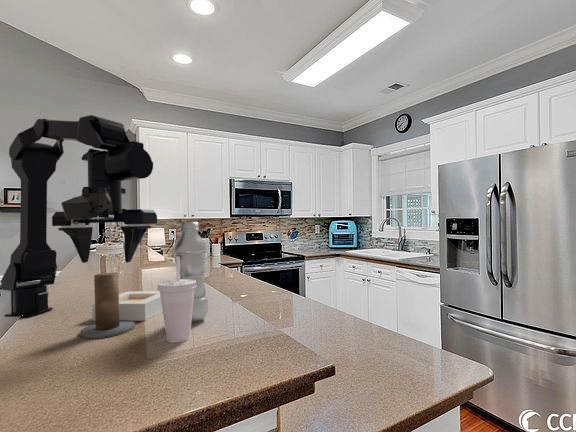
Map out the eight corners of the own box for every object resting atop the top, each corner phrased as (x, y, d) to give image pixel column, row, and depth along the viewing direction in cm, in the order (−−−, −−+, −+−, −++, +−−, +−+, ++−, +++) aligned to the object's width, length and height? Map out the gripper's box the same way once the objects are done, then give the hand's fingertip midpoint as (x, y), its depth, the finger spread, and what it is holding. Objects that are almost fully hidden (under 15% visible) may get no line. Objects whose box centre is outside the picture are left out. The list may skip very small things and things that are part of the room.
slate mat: (68, 338, 58) (68, 335, 58) (102, 322, 67) (102, 319, 67) (114, 338, 57) (114, 335, 57) (143, 322, 66) (143, 319, 66)
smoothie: (203, 332, 59) (201, 254, 59) (189, 345, 53) (186, 258, 53) (169, 332, 60) (167, 255, 60) (151, 345, 53) (149, 259, 54)
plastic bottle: (167, 324, 64) (164, 223, 65) (189, 315, 71) (187, 222, 71) (194, 327, 62) (191, 222, 62) (215, 317, 68) (212, 221, 69)
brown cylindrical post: (90, 330, 60) (89, 276, 61) (105, 323, 64) (103, 272, 65) (110, 330, 60) (109, 275, 60) (124, 323, 64) (122, 272, 64)
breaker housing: (92, 320, 69) (92, 303, 69) (127, 305, 81) (126, 291, 81) (145, 320, 68) (145, 303, 68) (173, 305, 80) (172, 291, 80)
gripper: (24, 179, 58) (25, 268, 57) (122, 175, 55) (124, 268, 55) (74, 186, 69) (75, 260, 68) (157, 182, 66) (159, 260, 66)
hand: (106, 262), depth 64 cm, fingers open, 9 cm apart
